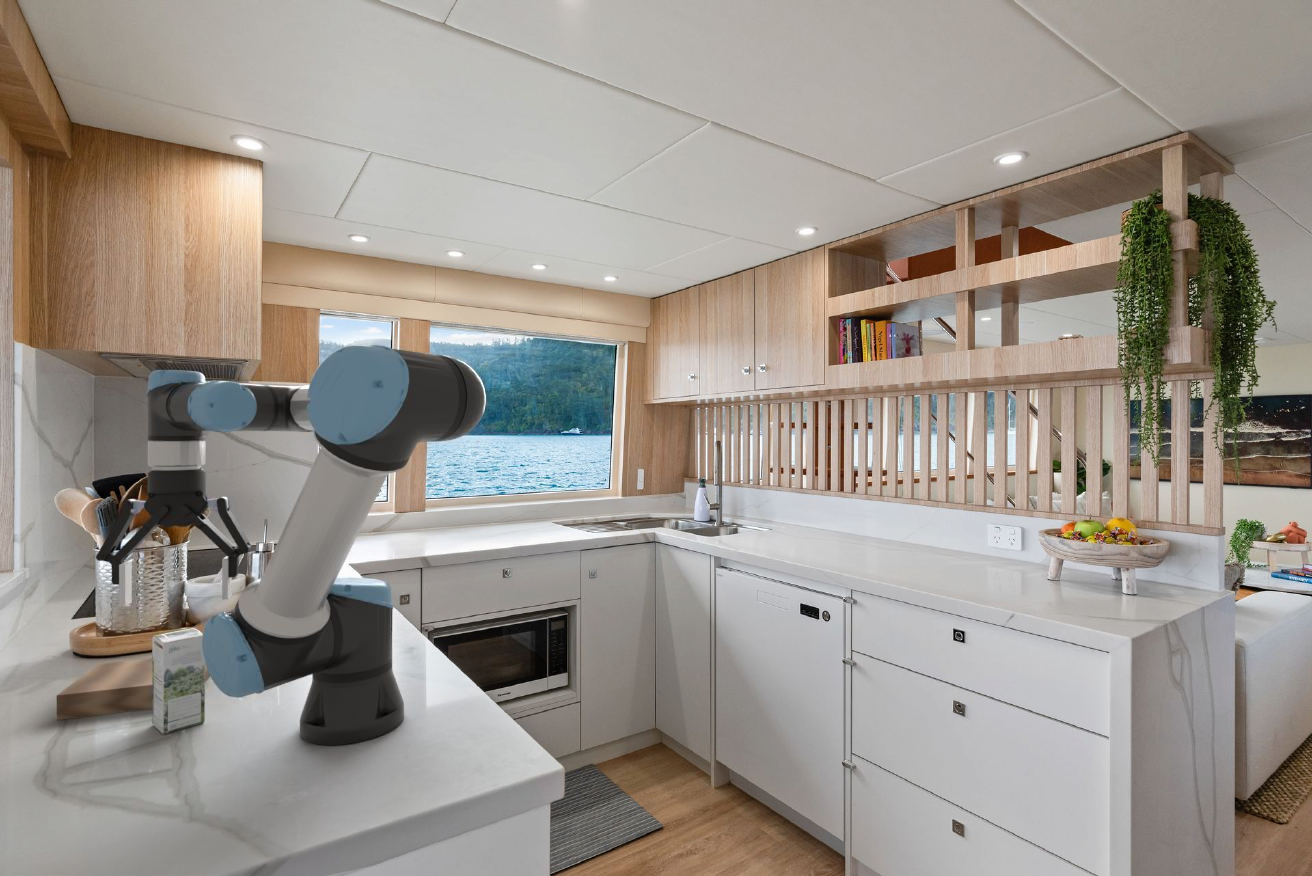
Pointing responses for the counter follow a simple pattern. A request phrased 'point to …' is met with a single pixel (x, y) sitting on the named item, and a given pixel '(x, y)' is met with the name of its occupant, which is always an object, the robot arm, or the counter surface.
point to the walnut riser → (109, 690)
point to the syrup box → (178, 680)
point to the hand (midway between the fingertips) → (177, 601)
